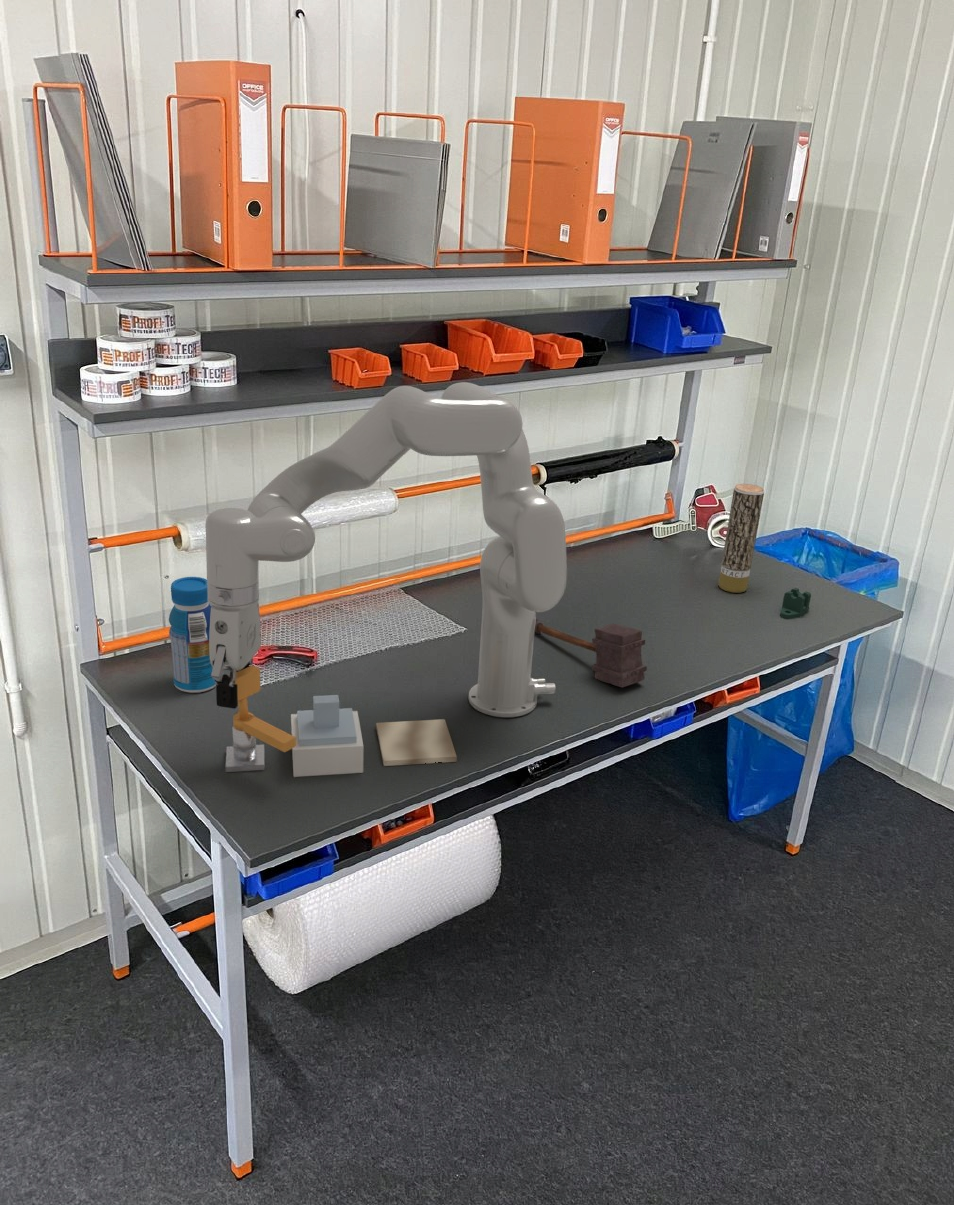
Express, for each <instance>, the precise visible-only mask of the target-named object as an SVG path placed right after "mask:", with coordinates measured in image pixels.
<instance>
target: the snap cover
mask: <svg viewBox="0 0 954 1205" xmlns="http://www.w3.org/2000/svg"><path fill="white" fill-rule="evenodd" d="M312 701H313V704H312V707H313V708H312V709H310V710H309V709H308V710H305V709H303V710H297V711H296V714H297V720H298V735H299V746H311V745H329V744H347V743H357V736H356V730H355V724H354V718H353V711H354V710H353V708H352V707H347V708H340V699H339V694H329V695H313V697H312Z"/></svg>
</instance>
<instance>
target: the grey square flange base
mask: <svg viewBox="0 0 954 1205" xmlns="http://www.w3.org/2000/svg"><path fill="white" fill-rule="evenodd" d="M231 727H232V729H231V730H232V746H226V750H225V751H226V754H225V773H233V772H235V773H237V772H251V771H252V772H254V771H264V770H265V744H257V738H256V737H254V736H252V735H250V734H248V733H246V732H244V731H239V730H236V729H235V728H234V724H232V726H231Z"/></svg>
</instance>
